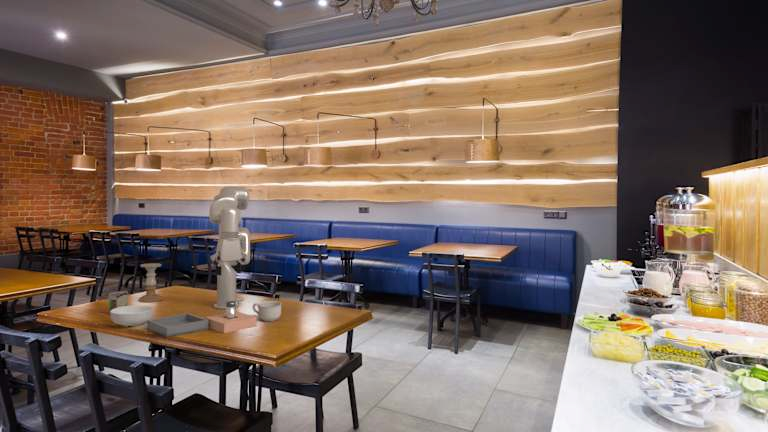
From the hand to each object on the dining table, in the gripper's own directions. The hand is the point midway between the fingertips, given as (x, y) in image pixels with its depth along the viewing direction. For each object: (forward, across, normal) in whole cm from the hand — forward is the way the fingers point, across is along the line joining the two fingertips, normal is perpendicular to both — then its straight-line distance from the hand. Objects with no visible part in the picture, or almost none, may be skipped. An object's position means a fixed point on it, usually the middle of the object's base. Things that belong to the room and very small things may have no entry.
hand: (228, 274), depth 201 cm
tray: (+23, +18, -11) cm, 31 cm away
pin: (+23, -1, +1) cm, 23 cm away
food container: (+23, +26, -59) cm, 69 cm away
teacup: (+24, -19, +2) cm, 30 cm away
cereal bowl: (+23, +28, -32) cm, 49 cm away
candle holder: (+22, +2, -79) cm, 82 cm away
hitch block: (+23, -1, +1) cm, 23 cm away
